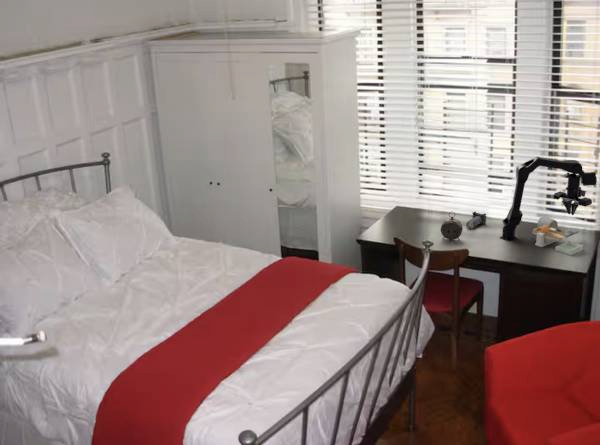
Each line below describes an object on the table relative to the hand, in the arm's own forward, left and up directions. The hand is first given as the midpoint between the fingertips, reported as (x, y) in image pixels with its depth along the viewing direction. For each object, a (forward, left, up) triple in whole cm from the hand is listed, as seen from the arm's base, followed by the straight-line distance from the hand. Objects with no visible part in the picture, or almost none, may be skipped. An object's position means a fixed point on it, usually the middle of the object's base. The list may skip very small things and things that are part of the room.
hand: (571, 214), depth 358 cm
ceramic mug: (+2, +14, -13) cm, 19 cm away
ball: (-14, +5, -6) cm, 16 cm away
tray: (-14, -9, -13) cm, 21 cm away
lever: (-9, +3, -11) cm, 15 cm away
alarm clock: (-46, +39, -13) cm, 62 cm away
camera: (-21, +45, -14) cm, 51 cm away
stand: (-14, +4, -13) cm, 20 cm away
